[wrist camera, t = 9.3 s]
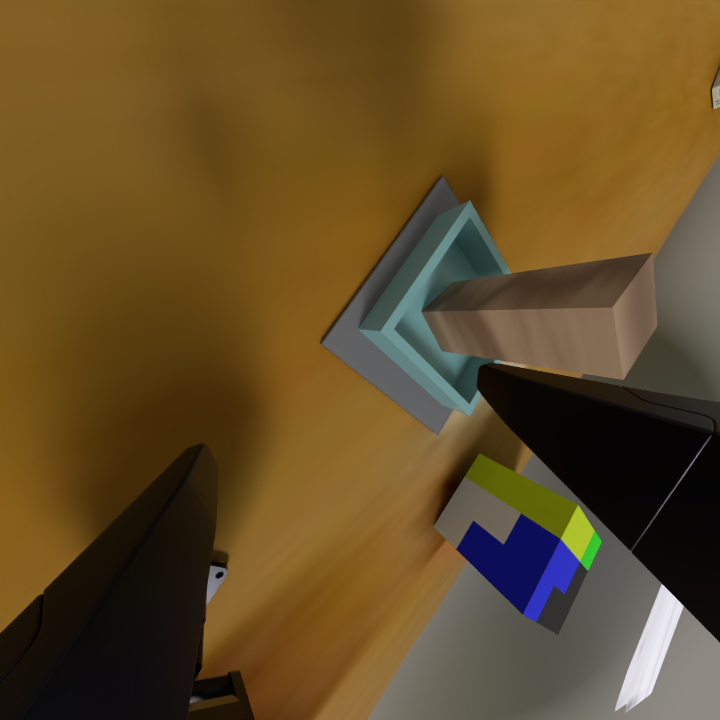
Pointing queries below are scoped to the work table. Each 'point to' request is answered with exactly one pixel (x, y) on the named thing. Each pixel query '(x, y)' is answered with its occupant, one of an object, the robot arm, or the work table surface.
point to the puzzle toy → (521, 539)
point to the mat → (345, 331)
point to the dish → (419, 288)
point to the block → (553, 316)
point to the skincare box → (716, 92)
